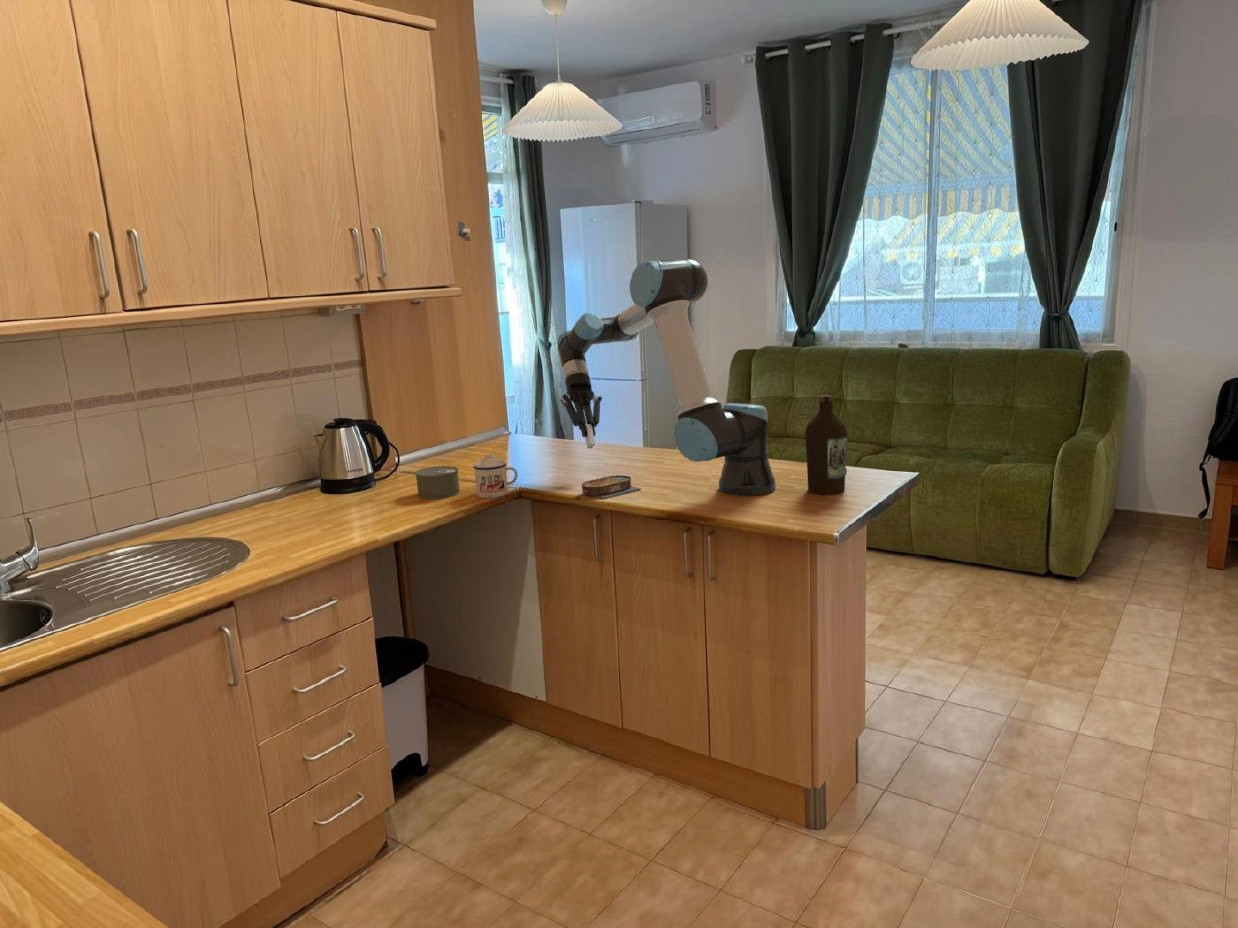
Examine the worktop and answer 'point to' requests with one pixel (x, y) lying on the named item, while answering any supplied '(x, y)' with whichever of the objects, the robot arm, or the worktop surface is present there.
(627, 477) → the tin
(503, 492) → the teacup with lid
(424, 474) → the can
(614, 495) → the mat
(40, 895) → the worktop surface
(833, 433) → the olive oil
